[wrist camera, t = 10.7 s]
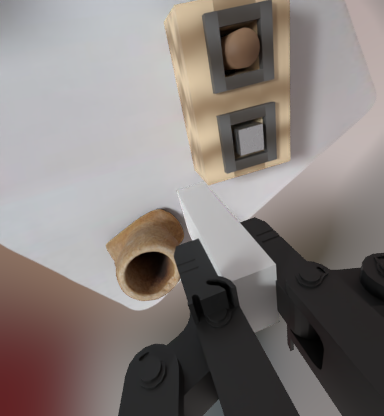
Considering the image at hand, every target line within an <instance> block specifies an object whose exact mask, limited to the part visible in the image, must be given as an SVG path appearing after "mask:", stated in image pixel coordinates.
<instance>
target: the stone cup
mask: <svg viewBox="0 0 384 416" xmlns="http://www.w3.org/2000/svg"><path fill="white" fill-rule="evenodd" d="M183 238H184V232H183V229H182V227H181V225H180V223H179V221H178V220H177V219H176V218H175V217H174V216H173V215H172V214H171V213H169V212H165V211H164V210H162V209H156V210H153V211H151V212H149V213H147V214H145V215H143V216H142V217H140V218H139V219H137V220H136V221H134V222H133V223H132V224H131V225H129V226H128V227H127V228H125V229H124V230H123V231H122V232H120V233H119V234H118V235H117V236H115V237H114V238H113V239H112V240H110V241H109V242H108V243H107V244H106V248H107V251H108V252H109V253H110V255H111V257H112V258H113V260H114V261H115V266H116V277H117V280H118V283H119V285H120V287H121V289H122V290H123V292H124V293H125V294H126V295H128V296H129V297H131V298H133V299H136V300H140V301H149V300H155V299H159V298H161V297H163V296H164V295H166V294H167V293H169V292H170V291H171V290H172V289H173V288H174V287H175V286H176V284H177V283H178V282H179V280H180V275H179V272H178V269H177V266H176V263H175V259H174V252H175V248H176V246H179V244H180V243H181V242H182V240H183Z"/></svg>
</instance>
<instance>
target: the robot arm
mask: <svg viewBox="0 0 384 416" xmlns="http://www.w3.org/2000/svg"><path fill="white" fill-rule="evenodd" d="M177 194H178V197H179V201H180V204H181V208H182V211H183V215H184V218H185V222H186V225H187V229H188V232H189V234H190V236H191V239H192V241H190V242H187V243H184V244H181V245H179V246H176V248H175V252H174V259H175V263H176V266H177V269H178V272H179V275H180V278H181V281H182V284H183V287H184V290H185V293H186V296H187V300H188V306H189V309H190V318H189V321H188V324H187V326H186V327H185V329H184V331H182V332H181V333H180V334H179V336H178V337H176V338H175V339H174V340H172V341H171V342H170V343H169V344H168V345H164V344H153V345H150V346H148V347H145V348H144V349H142V350H141V351H140V352H139V353H138V354H136V355H135V357H134V358H133V360H132V361H131V363H130V364H129V367H128V370H127V373H126V376H125V381H124V387H123V392H122V398H121V404H120V409H119V415H118V416H203V415H204V414H205V413H206V412H207V410H208V409H209V408H210V407H211V406H212V405H213V404H214V403H215V402H216V401H217V400H218V399H219V400H220V403H221V406H222V409H223V412H224V416H300V415H299V414H298V412H297V410H296V408H295V406H294V404H293V403H292V401H291V399H290V397H289V395H288V394H287V392H286V390H285V388H284V386H283V384H282V382H281V381H280V379H279V377H278V375H277V373H276V372H275V370H274V368H273V366H272V364H271V362H270V361H269V359H268V357H267V355H266V353H265V351H264V350H263V348H262V346H261V344H260V342H259V340H258V339H257V337H256V335H255V333H254V332H257V331H259V330H261V329H264V328H266V327H269V326H271V325H273V324H276V323H278V322H279V313H280V315H281V316H282V317H283V319H284V320H285V322H286V323H287V338H288V339H287V340H288V346H289V348H290V351H292V350H294V346H293V345H294V344H295V346H296V347H297V349H298V350H299V352H300V353H301V355H302V356H303V358H304V359H305V360H306V362H307V364H308V365H309V367H310V368H311V370H312V371H313V373H314V374H315V375H316V377H317V378H318V380H319V382H320V383H321V385H322V386H323V388H324V389H325V391H326V392H327V393H328V395H329V397H330V398H331V399H332V401H333V403H334V404H335V406H336V407H337V409H338V410H339V412H340V413H341V415H342V416H384V253H377V254H372V255H370V256H367V257H366V258H365V259H364V261H363V262H362V267H361V268H352V269H343V270H330V269H328V268H326V267H325V266H323V265H321V264H318V263H315V262H309V261H306V260H305V259H304V258H303V257H301V255H300V254H299V253H298V252H296V251H295V250H294V249H293V248H292V247H291V246H290V245H289V244H288V243H287V242H286V241H285V240H284V239H283V238H282V237H280V236H279V235H278V233H276V231H274V230H273V229H272V228H271V227H270V226H269V225H268V224H267V223H266V222H265V221H262V220H260V219H257V218H255V217H254V218H252V219H249V220H246V221H243V222H239V221H238V220H237V219H236V218H235V216H234V215H233V214H232V213H231V212H230V211H229V209H228V208H227V207H226V206H225V205H224V204H223V202H222V201H221V200H220V199H219V198H218V197H217V195H216V194H215V193H214V192H213V191H212V190H211V189H210V187H209V186H208V185H207V184H206V183H205V182H204V181H203V182H200V183H197V184H194V185H191V186H188V187H185V188H182V189H179V190H177Z"/></svg>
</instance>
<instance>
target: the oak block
mask: <svg viewBox="0 0 384 416" xmlns="http://www.w3.org/2000/svg"><path fill="white" fill-rule="evenodd" d="M164 25H165V30H166V35H167V39H168V44H169V49H170V54H171V58H172V63H173V68H174V73H175V78H176V82H177V87H178V92H179V97H180V101H181V106H182V111H183V116H184V121H185V125H186V130H187V135H188V140H189V144H190V149H191V154H192V159H193V164H194V168H195V171H196V172H197V173H198V174H199V175H200V176H201V178H202V179H203V180H204V181H205V182H206V183H207V185H211V184H214V183H218V182H221V181H225V180H228V179H231V178H235V177H238V176H241V175H245V174H248V173H251V172H255V171H258V170H261V169H265V168H268V167H272V166H275V165H278V164H282V163H285V162H288V161H290V0H197V1H192V2H187V3H182V4H177V5H174V6H173V8H172V10H171V11H170V13H169V14H168V16H167V18H166V19H165V21H164ZM241 28H250V29H252V30H253V31H254V32H255V33H256V34H257V36H258V39H259V43H260V49H259V54H258V57H257V59H256V60H255V62H254V63H253V64H252V65H250V66H248V67H246V68H239V69H235V72H234V73H230V74H226V75H225V73H224V65H223V56H222V48H221V40H220V35H224V34H228V33H232V32H234V31H237V30H239V29H241ZM249 120H250V121H254V122H258V123H262V124H263V138H264V149H263V150H259V151H256V152H253V153H249V154H246V155H242V156H241V155H239V154H237V153H236V152H234V148H233V139H232V131H231V125H234V124H238V123H241V122H245V121H249Z"/></svg>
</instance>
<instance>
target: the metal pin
mask: <svg viewBox="0 0 384 416" xmlns="http://www.w3.org/2000/svg"><path fill="white" fill-rule="evenodd" d="M231 131H232V139H233V148H234V152H236V153H237V154H239V155H241V156H242V155H246V154H249V153H253V152H256V151H259V150H263V149H264V138H263V124H262V123H258V122H254V121H250V120H249V121H245V122H241V123H238V124H234V125H231Z"/></svg>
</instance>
